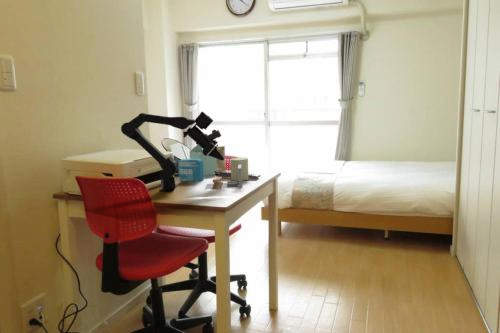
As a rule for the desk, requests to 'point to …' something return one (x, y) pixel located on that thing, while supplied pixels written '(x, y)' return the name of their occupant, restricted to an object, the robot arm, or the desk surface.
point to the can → (235, 168)
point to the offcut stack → (217, 182)
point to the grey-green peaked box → (204, 160)
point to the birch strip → (221, 164)
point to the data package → (191, 170)
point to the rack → (230, 183)
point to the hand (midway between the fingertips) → (223, 159)
